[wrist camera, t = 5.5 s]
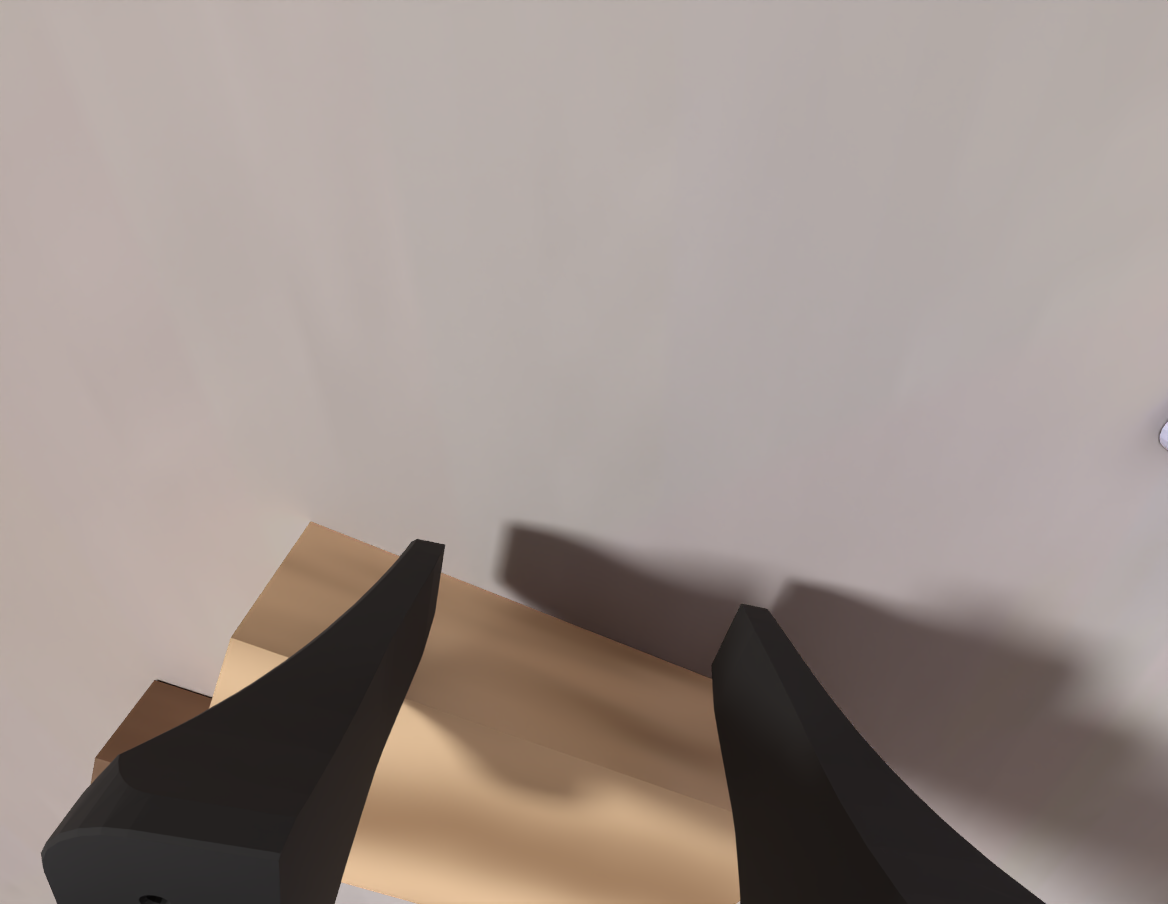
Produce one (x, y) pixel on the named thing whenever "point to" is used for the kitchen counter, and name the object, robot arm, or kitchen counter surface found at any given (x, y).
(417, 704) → the wooden block
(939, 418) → the kitchen counter surface
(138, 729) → the bar
